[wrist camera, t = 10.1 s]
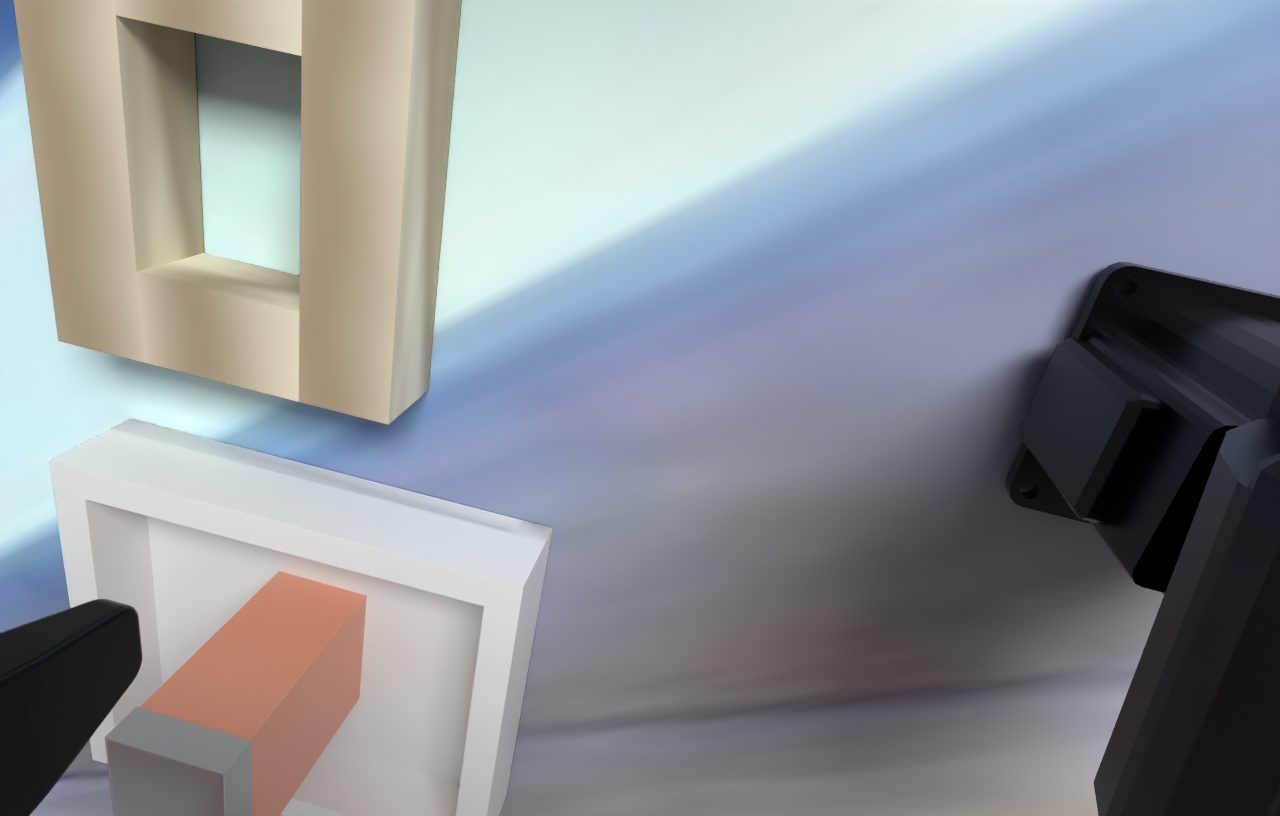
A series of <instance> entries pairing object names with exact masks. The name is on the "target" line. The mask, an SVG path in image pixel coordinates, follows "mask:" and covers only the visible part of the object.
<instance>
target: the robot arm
mask: <svg viewBox="0 0 1280 816" xmlns="http://www.w3.org/2000/svg"><path fill="white" fill-rule="evenodd" d="M1126 276H1129V277H1130V279H1131V282H1130V286H1129V287H1128V289H1127V290H1126V291H1124V292H1122V293H1120V294H1115V293H1114V291H1113V290H1114V285H1115V283H1116V282H1117V281H1118V280H1119V279H1121V278H1123V277H1126ZM1019 434H1020V436H1021V438H1022V439H1023V443H1022V445H1021V447H1020V450H1019V452H1018V454H1017V456H1016V458H1015V461H1014V463H1013V465H1012V467H1011V469H1010V472H1009V474H1008V476H1007V478H1006V483H1005V487H1006V491H1007V493H1008V494H1009V496H1010V498H1011V499H1012V500H1013V501H1014V503H1015V504H1017V505H1019V506H1022V507H1025V508H1029V509H1033V510H1037V511H1041V512H1045V513H1050V514H1054V515H1058V516H1062V517H1066V518H1070V519H1074V520H1078V521H1082V522H1086V523H1090V524H1092V526H1093V527H1094V528H1095V530H1096V531H1097V532H1098V534H1099V535H1100V536H1101V538H1102V539H1103V541H1104V542H1105V543H1106V545H1107V546H1108V547H1109V549H1110V550H1111V551H1112V553H1113V554H1114V555H1115V557H1116V558H1117V560H1118V561H1119V562H1120V564H1121V565H1122V566H1123V568H1124V569H1125V570H1126V572H1127V573H1128V575H1129V576H1130V577H1131V579H1132V580H1133V581H1134V583H1135V584H1137V585H1139V586H1141V587H1144V588H1148V589H1152V590H1156V591H1160V592H1162V593H1163V595H1164V598H1163V600H1162V603H1161V606H1160V608H1159V611H1158V613H1157V616H1156V619H1155V621H1154V624H1153V627H1152V629H1151V632H1150V635H1149V637H1148V640H1147V643H1146V645H1145V648H1144V650H1143V653H1142V656H1141V658H1140V661H1139V664H1138V666H1137V669H1136V672H1135V674H1134V677H1133V679H1132V682H1131V685H1130V687H1129V690H1128V693H1127V695H1126V698H1125V701H1124V703H1123V706H1122V708H1121V711H1120V714H1119V716H1118V719H1117V722H1116V724H1115V727H1114V730H1113V732H1112V735H1111V738H1110V740H1109V743H1108V745H1107V748H1106V751H1105V753H1104V756H1103V759H1102V761H1101V764H1100V767H1099V769H1098V772H1097V774H1096V777H1095V780H1094V788H1095V795H1096V801H1097V808H1098V815H1099V816H1280V296H1277V295H1272V294H1268V293H1263V292H1259V291H1254V290H1250V289H1245V288H1241V287H1236V286H1232V285H1227V284H1223V283H1218V282H1214V281H1209V280H1205V279H1200V278H1196V277H1191V276H1187V275H1182V274H1178V273H1173V272H1169V271H1164V270H1160V269H1155V268H1151V267H1146V266H1142V265H1137V264H1133V263H1127V262H1118V263H1115V264H1112V265H1110V266H1108V267H1107V268H1106V269H1104V270H1103V271H1102V272H1101V273H1100V275H1099V276H1098V278H1097V280H1096V282H1095V284H1094V286H1093V289H1092V291H1091V293H1090V295H1089V297H1088V300H1087V302H1086V304H1085V306H1084V308H1083V311H1082V313H1081V315H1080V317H1079V319H1078V322H1077V324H1076V326H1075V328H1074V330H1073V333H1072V335H1071V337H1070V338H1068V339H1066V340H1064V341H1063V342H1061V343H1059V344H1058V345H1057V347H1056V349H1055V351H1054V353H1053V355H1052V358H1051V360H1050V362H1049V364H1048V367H1047V369H1046V371H1045V373H1044V376H1043V378H1042V380H1041V382H1040V385H1039V387H1038V389H1037V391H1036V393H1035V396H1034V398H1033V400H1032V402H1031V405H1030V407H1029V409H1028V411H1027V414H1026V416H1025V418H1024V420H1023V423H1022V425H1021V427H1020V429H1019ZM1027 482H1035V483H1036V484H1035V487H1034V488H1033V489H1032V490H1030V491H1027V492H1021V491H1020V487H1021V486H1022V485H1023V484H1025V483H1027ZM141 664H142V645H141V635H140V625H139V616H138V613H137V611H136V610H135V608H134V607H132V606H130V605H127V604H123V603H119V602H116V601H112V600H108V599H96V600H92V601H89V602H86V603H83V604H81V605H78V606H75V607H72V608H69V609H66V610H64V611H61V612H58V613H55V614H52V615H49V616H47V617H44V618H41V619H38V620H35V621H32V622H30V623H27V624H24V625H21V626H18V627H15V628H12V629H10V630H7V631H4V632H1V633H0V816H29V815H30V814H31V813H32V812H33V811H34V810H35V808H36V807H37V806H38V805H39V804H40V803H41V801H42V800H43V799H44V798H45V797H46V795H47V794H48V793H49V792H50V790H51V789H52V788H53V787H54V785H55V784H56V783H57V782H58V780H59V779H60V778H61V777H62V775H63V774H64V773H65V771H66V770H67V769H68V767H69V766H70V765H71V763H72V762H73V761H74V759H75V758H76V757H77V755H78V754H79V753H80V751H81V750H82V749H83V747H84V746H85V745H86V743H87V742H88V741H89V739H90V738H91V737H92V735H93V734H94V733H95V731H96V730H97V729H98V727H99V726H100V725H101V723H102V722H103V721H104V719H105V718H106V717H107V715H108V714H109V713H110V711H111V710H112V709H113V707H114V706H115V705H116V703H117V702H118V701H119V699H120V698H121V697H122V696H123V694H124V693H125V692H126V690H127V689H128V688H129V686H130V685H131V684H132V682H133V681H134V679H135V678H136V676H137V674H138V672H139V670H140V667H141Z"/></svg>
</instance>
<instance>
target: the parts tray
mask: <svg viewBox="0 0 1280 816" xmlns="http://www.w3.org/2000/svg"><path fill="white" fill-rule="evenodd" d="M49 465H50V472H51V479H52V486H53V492H54V499H55V506H56V513H57V520H58V526H59V533H60V540H61V547H62V554H63V561H64V567H65V574H66V581H67V588H68V595H69V601H70V608H72V607H75V606H78V605H81V604H83V603H86V602H89V601H92V600H96V599H108V600H112V601H116V602H119V603H123V604H127V605H130V606H132V607H134V608H135V610H136V611H137V613H138V616H139V625H140V635H141V645H142V664H141V667H140V670H139V672H138V674H137V676H136V678H135V679H134V681H133V682H132V684H131V685H130V686H129V688H128V689H127V690H126V692H125V693H124V694H123V696H122V697H121V698H120V699H119V701H118V702H117V703H116V705H115V706H114V707H113V709H112V710H111V711H110V713H109V714H108V715H107V717H106V718H105V719H104V721H103V722H102V723H101V725H100V726H99V727H98V729H97V730H96V731H95V733H94V734H93V735H92V737H91V738H90V745H91V751H92V758H93V760H96V761H99V762H103V763H106V764H108V763H107V755H106V746H105V738H104V737H105V736H106V735H107V734H108V733H109V732H111V731H112V730H113V729H114V728H115V727H116V726H117V725H118V724H119V723H120V722H121V721H122V720H123V719H124V718H125V717H126V716H127V715H128V714H129V713H130V712H131V711H132V710H133V709H134V708H135V707H140V706H141V705H142V704H143V703H144V702H145V701H146V700H148V699H149V698H150V697H151V696H152V695H153V694H154V693H155V692H156V691H157V690H158V689H159V688H160V687H161V686H162V685H163V684H164V683H165V682H166V681H167V680H168V679H169V678H170V677H171V676H172V675H173V674H174V673H175V672H176V671H177V670H178V669H179V668H180V667H181V666H182V665H183V664H184V663H185V662H187V661H188V660H189V659H190V658H191V657H192V656H193V655H194V654H195V653H196V652H197V651H198V650H199V649H200V648H201V647H202V646H203V645H204V644H205V643H206V642H207V641H208V640H209V639H210V638H211V637H212V636H213V635H214V634H215V633H216V632H217V631H218V630H219V629H220V628H221V627H222V626H223V625H224V624H225V623H227V622H228V621H229V620H230V619H231V618H232V617H233V616H234V615H235V614H236V613H237V612H238V611H239V610H240V609H241V608H242V607H243V606H244V605H245V604H246V603H247V602H248V601H249V600H250V599H251V598H252V597H253V596H254V595H255V594H256V593H257V592H258V591H259V590H260V589H261V588H262V587H263V586H264V585H266V584H267V583H268V582H269V581H270V580H271V579H272V578H273V577H274V576H275V575H276V574H277V573H278V572H279V571H281V572H285V573H288V574H292V575H295V576H299V577H303V578H306V579H310V580H313V581H317V582H320V583H324V584H327V585H331V586H334V587H338V588H341V589H345V590H348V591H352V592H356V593H359V594H363V595H366V596H367V599H366V613H365V627H364V641H363V655H362V668H361V682H360V696H359V700H358V701H357V703H356V704H355V705H354V707H353V708H352V710H351V711H350V713H349V714H348V716H347V717H346V719H345V720H344V722H343V723H342V725H341V726H340V728H339V729H338V731H337V732H336V733H335V735H334V736H333V738H332V739H331V741H330V742H329V744H328V745H327V747H326V748H325V750H324V751H323V753H322V754H321V756H320V757H319V758H318V760H317V761H316V763H315V764H314V766H313V767H312V769H311V770H310V772H309V773H308V775H307V776H306V778H305V779H304V781H303V782H302V783H301V785H300V786H299V788H298V789H297V791H296V792H295V794H294V795H293V797H292V798H291V800H290V801H289V803H288V804H287V806H286V807H285V809H284V810H283V811H282V813H281V814H280V815H283V816H499V815H500V812H501V809H502V807H503V804H504V801H505V799H506V795H507V789H508V784H509V778H510V772H511V766H512V760H513V755H514V749H515V743H516V737H517V732H518V726H519V720H520V714H521V709H522V703H523V697H524V691H525V686H526V680H527V674H528V668H529V663H530V657H531V651H532V645H533V640H534V634H535V628H536V622H537V617H538V611H539V605H540V599H541V594H542V588H543V582H544V576H545V570H546V565H547V559H548V553H549V547H550V542H551V536H552V530H553V528H550V527H546V526H542V525H538V524H534V523H531V522H527V521H523V520H519V519H515V518H511V517H507V516H504V515H500V514H496V513H492V512H488V511H484V510H480V509H477V508H473V507H469V506H465V505H461V504H457V503H454V502H450V501H446V500H442V499H438V498H434V497H430V496H427V495H423V494H419V493H415V492H411V491H407V490H404V489H400V488H396V487H392V486H388V485H384V484H380V483H377V482H373V481H369V480H365V479H361V478H357V477H353V476H350V475H346V474H342V473H338V472H334V471H330V470H327V469H323V468H319V467H315V466H311V465H307V464H303V463H300V462H296V461H292V460H288V459H284V458H280V457H276V456H273V455H269V454H265V453H261V452H257V451H253V450H250V449H246V448H242V447H238V446H234V445H230V444H226V443H223V442H219V441H215V440H211V439H207V438H203V437H199V436H196V435H192V434H188V433H184V432H180V431H176V430H173V429H169V428H165V427H161V426H157V425H153V424H149V423H146V422H142V421H138V420H134V419H129V420H127V421H125V422H123V423H121V424H119V425H117V426H115V427H113V428H111V429H109V430H107V431H105V432H104V433H102V434H100V435H98V436H96V437H94V438H92V439H90V440H88V441H86V442H84V443H82V444H80V445H78V446H76V447H74V448H72V449H70V450H68V451H66V452H64V453H62V454H61V455H59V456H57V457H55V458H53V459H51V460H49Z"/></svg>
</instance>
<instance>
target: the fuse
mask: <svg viewBox="0 0 1280 816" xmlns="http://www.w3.org/2000/svg"><path fill="white" fill-rule="evenodd" d="M366 599H367V596H366V595H363V594H359V593H356V592H352V591H348V590H345V589H341V588H338V587H334V586H331V585H327V584H324V583H320V582H317V581H313V580H310V579H306V578H303V577H299V576H295V575H292V574H288V573H285V572H281V571H279V572H278V573H277V574H276V575H275V576H274V577H273V578H272V579H271V580H270V581H269V582H268V583H267V584H266V585H264V586H263V587H262V588H261V589H260V590H259V591H258V592H257V593H256V594H255V595H254V596H253V597H252V598H251V599H250V600H249V601H248V602H247V603H246V604H245V605H244V606H243V607H242V608H241V609H240V610H239V611H238V612H237V613H236V614H235V615H234V616H233V617H232V618H231V619H230V620H229V621H228V622H227V623H225V624H224V625H223V626H222V627H221V628H220V629H219V630H218V631H217V632H216V633H215V634H214V635H213V636H212V637H211V638H210V639H209V640H208V641H207V642H206V643H205V644H204V645H203V646H202V647H201V648H200V649H199V650H198V651H197V652H196V653H195V654H194V655H193V656H192V657H191V658H190V659H189V660H188V661H187V662H185V663H184V664H183V665H182V666H181V667H180V668H179V669H178V670H177V671H176V672H175V673H174V674H173V675H172V676H171V677H170V678H169V679H168V680H167V681H166V682H165V683H164V684H163V685H162V686H161V687H160V688H159V689H158V690H157V691H156V692H155V693H154V694H153V695H152V696H151V697H150V698H149V699H148V700H146V701H145V702H144V703H143V704H142V705H141V706H140V707H135V708H134V709H133V710H132V711H131V712H130V713H129V714H128V715H127V716H126V717H125V718H124V719H123V720H122V721H121V722H120V723H119V724H118V725H117V726H116V727H115V728H114V729H113V730H112V731H111V732H109V733H108V734H107V735H106V736H105V737H104V738H105V746H106V755H107V763H108V772H109V780H110V789H111V797H112V806H113V814H114V816H280V814H281V813H282V811H283V810H284V809H285V807H286V806H287V804H288V803H289V801H290V800H291V798H292V797H293V795H294V794H295V792H296V791H297V789H298V788H299V786H300V785H301V783H302V782H303V781H304V779H305V778H306V776H307V775H308V773H309V772H310V770H311V769H312V767H313V766H314V764H315V763H316V761H317V760H318V758H319V757H320V756H321V754H322V753H323V751H324V750H325V748H326V747H327V745H328V744H329V742H330V741H331V739H332V738H333V736H334V735H335V733H336V732H337V731H338V729H339V728H340V726H341V725H342V723H343V722H344V720H345V719H346V717H347V716H348V714H349V713H350V711H351V710H352V708H353V707H354V705H355V704H356V703H357V701H358V700H359V696H360V682H361V668H362V655H363V641H364V627H365V613H366Z"/></svg>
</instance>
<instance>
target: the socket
mask: <svg viewBox="0 0 1280 816" xmlns="http://www.w3.org/2000/svg"><path fill="white" fill-rule="evenodd" d="M14 6H15V13H16V21H17V29H18V36H19V44H20V52H21V59H22V67H23V74H24V82H25V90H26V97H27V105H28V113H29V120H30V128H31V135H32V143H33V151H34V158H35V166H36V174H37V181H38V189H39V197H40V204H41V212H42V219H43V227H44V235H45V242H46V250H47V258H48V265H49V273H50V280H51V288H52V296H53V303H54V311H55V319H56V326H57V334H58V341H61V342H65V343H69V344H73V345H77V346H81V347H84V348H88V349H92V350H96V351H100V352H104V353H108V354H112V355H116V356H120V357H124V358H128V359H132V360H136V361H140V362H144V363H147V364H151V365H155V366H159V367H163V368H167V369H171V370H175V371H179V372H183V373H187V374H191V375H195V376H199V377H203V378H207V379H211V380H214V381H218V382H222V383H226V384H230V385H234V386H238V387H242V388H246V389H250V390H254V391H258V392H262V393H266V394H270V395H274V396H277V397H281V398H285V399H289V400H293V401H297V402H301V403H305V404H309V405H313V406H317V407H321V408H325V409H329V410H333V411H337V412H340V413H344V414H348V415H352V416H356V417H360V418H364V419H368V420H372V421H376V422H380V423H384V424H388V425H389V424H390V423H391V422H392V421H393V420H395V419H396V418H397V417H398V416H399V415H400V414H401V413H403V412H404V411H405V410H406V409H407V408H408V407H410V406H411V405H412V404H413V403H414V402H415V401H416V400H418V399H419V398H420V397H421V396H422V395H423V394H424V393H426V392H427V391H428V387H429V376H430V364H431V352H432V340H433V329H434V317H435V305H436V294H437V282H438V270H439V258H440V247H441V235H442V223H443V211H444V200H445V188H446V176H447V164H448V153H449V141H450V129H451V118H452V106H453V94H454V82H455V71H456V59H457V47H458V35H459V24H460V12H461V0H14ZM194 33H199V34H203V35H208V36H212V37H217V38H221V39H226V40H230V41H235V42H240V43H244V44H249V45H253V46H258V47H262V48H267V49H271V50H276V51H280V52H285V53H290V54H294V55H299V56H302V57H301V180H300V276H298V275H293V274H289V273H285V272H281V271H277V270H273V269H269V268H264V267H260V266H256V265H252V264H248V263H244V262H240V261H235V260H231V259H227V258H223V257H219V256H215V255H211V254H206V253H204V241H203V219H202V197H201V174H200V152H199V129H198V107H197V84H196V62H195V40H194Z"/></svg>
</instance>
